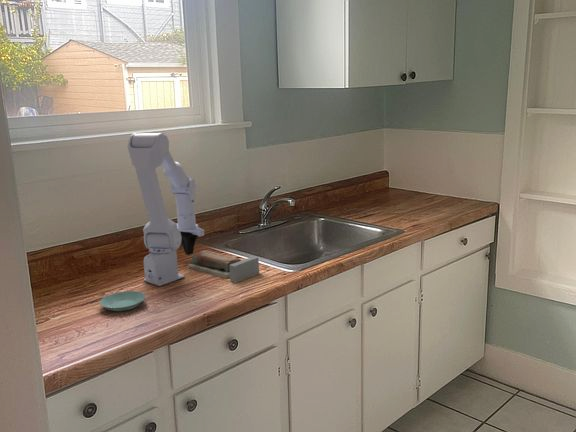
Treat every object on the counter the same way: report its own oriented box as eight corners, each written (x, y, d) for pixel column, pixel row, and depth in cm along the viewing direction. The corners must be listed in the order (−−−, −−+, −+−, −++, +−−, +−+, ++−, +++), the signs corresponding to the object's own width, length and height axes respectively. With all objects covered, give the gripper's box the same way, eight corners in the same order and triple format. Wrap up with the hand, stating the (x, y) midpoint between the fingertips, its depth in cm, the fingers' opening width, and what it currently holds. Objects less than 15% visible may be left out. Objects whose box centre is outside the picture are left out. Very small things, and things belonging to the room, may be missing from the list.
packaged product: (185, 254, 184) (208, 246, 191) (186, 269, 185) (209, 260, 192) (225, 264, 172) (248, 255, 180) (226, 280, 174) (249, 270, 181)
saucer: (93, 315, 151) (92, 307, 150) (110, 298, 162) (109, 290, 162) (138, 315, 150) (137, 307, 149) (151, 298, 161) (151, 290, 161)
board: (235, 282, 170) (234, 266, 169) (230, 281, 171) (229, 265, 170) (259, 273, 177) (258, 257, 176) (254, 271, 178) (253, 256, 177)
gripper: (210, 214, 185) (213, 254, 189) (181, 208, 195) (185, 247, 198) (192, 218, 180) (196, 260, 184) (164, 212, 190) (168, 252, 193)
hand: (189, 254), depth 191 cm, fingers closed
